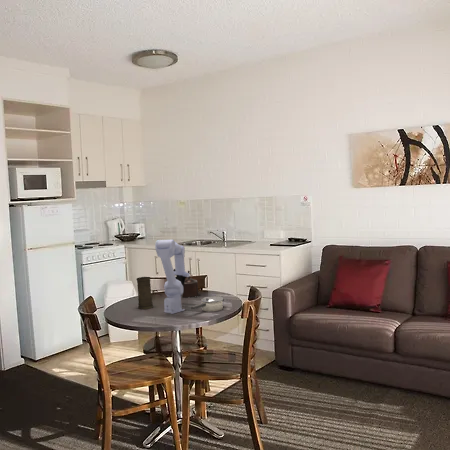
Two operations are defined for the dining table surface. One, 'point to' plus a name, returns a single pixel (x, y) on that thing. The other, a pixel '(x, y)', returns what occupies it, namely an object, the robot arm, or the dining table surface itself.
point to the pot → (210, 306)
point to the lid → (212, 299)
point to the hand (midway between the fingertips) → (181, 287)
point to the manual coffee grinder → (190, 287)
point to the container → (144, 293)
